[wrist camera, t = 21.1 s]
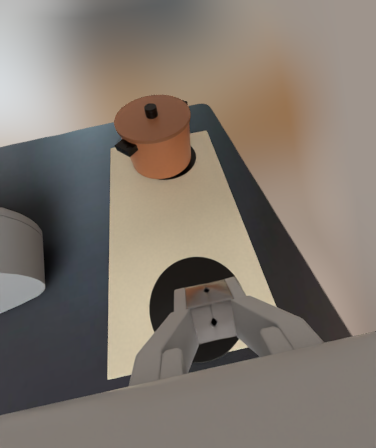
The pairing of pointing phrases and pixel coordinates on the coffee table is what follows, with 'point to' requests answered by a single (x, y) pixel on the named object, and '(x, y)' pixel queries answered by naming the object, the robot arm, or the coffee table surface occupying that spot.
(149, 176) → the pot
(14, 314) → the coffee table surface
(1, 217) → the alarm clock
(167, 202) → the hob
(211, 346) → the black round disc
